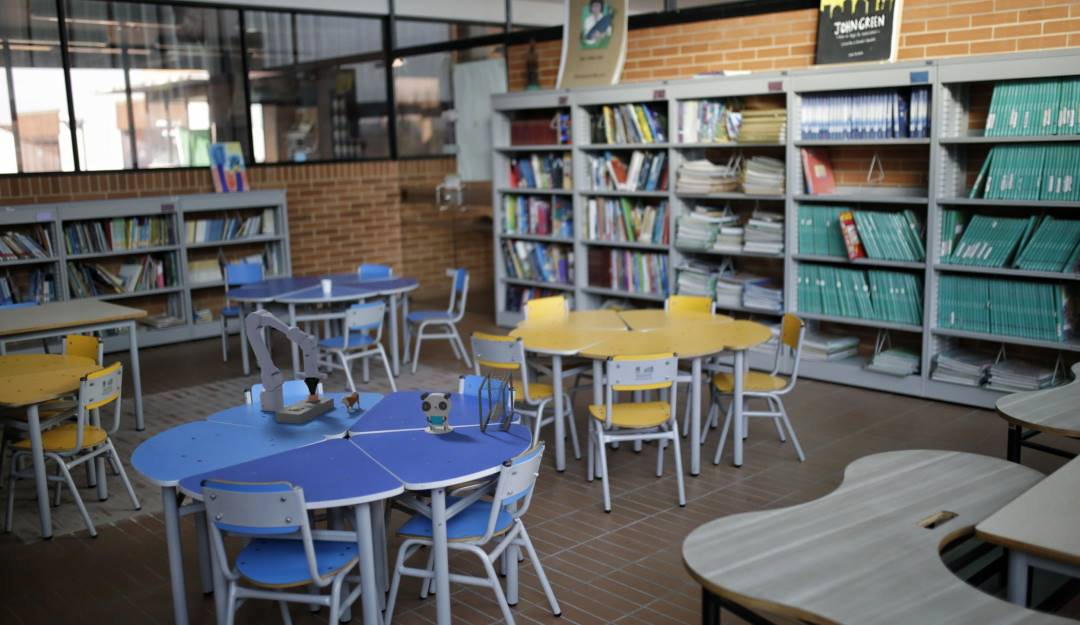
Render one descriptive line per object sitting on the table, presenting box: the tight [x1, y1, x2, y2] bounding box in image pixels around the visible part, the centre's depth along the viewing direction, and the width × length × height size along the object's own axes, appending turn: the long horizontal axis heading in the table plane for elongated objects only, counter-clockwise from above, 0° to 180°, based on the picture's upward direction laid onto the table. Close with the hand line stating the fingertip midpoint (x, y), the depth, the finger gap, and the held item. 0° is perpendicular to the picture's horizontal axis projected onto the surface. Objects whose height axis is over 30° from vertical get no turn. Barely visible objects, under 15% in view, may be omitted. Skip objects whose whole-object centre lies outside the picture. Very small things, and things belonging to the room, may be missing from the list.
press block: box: [275, 396, 335, 425], centre depth 412 cm, size 12×26×4 cm, turn 160°
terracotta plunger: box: [307, 392, 320, 403], centre depth 417 cm, size 4×4×4 cm
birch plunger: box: [291, 407, 302, 411], centre depth 406 cm, size 4×4×4 cm
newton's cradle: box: [477, 371, 514, 432], centre depth 390 cm, size 30×10×18 cm, turn 176°
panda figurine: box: [420, 391, 454, 435], centre depth 382 cm, size 12×11×15 cm
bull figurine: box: [339, 391, 360, 414], centre depth 414 cm, size 4×13×8 cm, turn 163°
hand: (313, 394), depth 417 cm, fingers closed
